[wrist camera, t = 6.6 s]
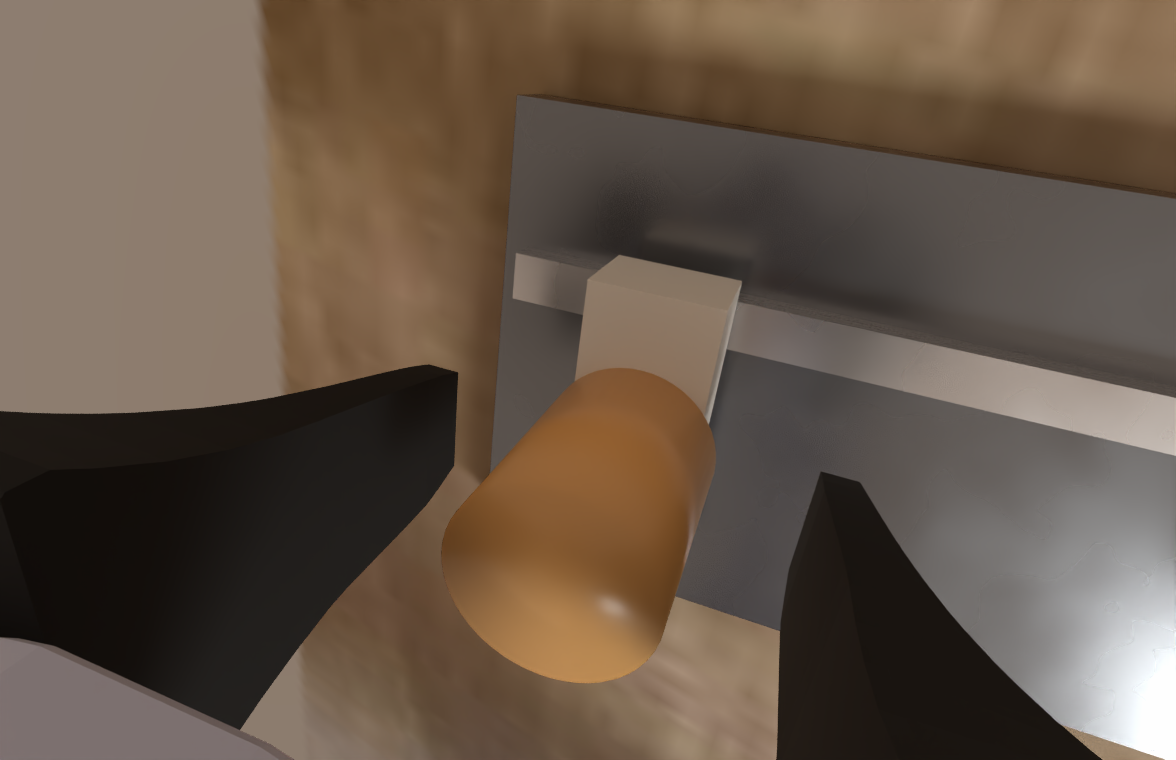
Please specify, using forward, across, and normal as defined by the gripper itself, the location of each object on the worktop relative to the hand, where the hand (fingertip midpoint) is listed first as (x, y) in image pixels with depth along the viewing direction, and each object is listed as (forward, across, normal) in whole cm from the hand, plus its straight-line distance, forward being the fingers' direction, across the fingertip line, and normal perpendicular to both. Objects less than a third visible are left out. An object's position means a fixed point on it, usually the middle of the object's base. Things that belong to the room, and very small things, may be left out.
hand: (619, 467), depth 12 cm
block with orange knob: (+3, 0, 0) cm, 3 cm away
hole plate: (+5, -7, 0) cm, 8 cm away
